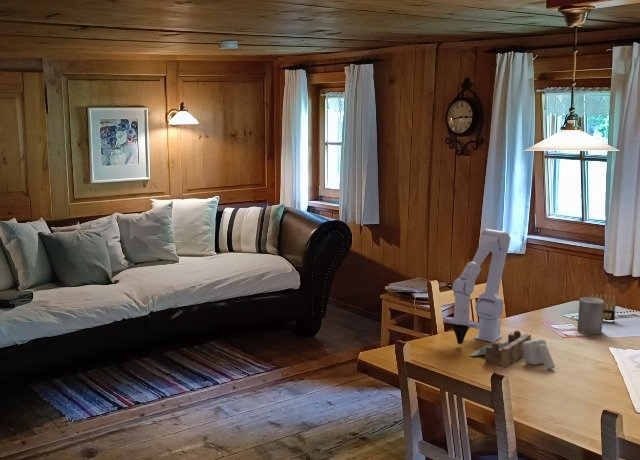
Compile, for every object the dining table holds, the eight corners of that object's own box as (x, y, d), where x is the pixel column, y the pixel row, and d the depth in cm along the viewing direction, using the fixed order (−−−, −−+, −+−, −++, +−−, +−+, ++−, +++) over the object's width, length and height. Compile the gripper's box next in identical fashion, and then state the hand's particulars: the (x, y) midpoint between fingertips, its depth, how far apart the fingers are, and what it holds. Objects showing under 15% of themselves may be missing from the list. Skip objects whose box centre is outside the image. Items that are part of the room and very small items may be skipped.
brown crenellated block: (510, 348, 292) (511, 328, 291) (530, 352, 288) (531, 332, 286) (485, 363, 275) (486, 342, 273) (506, 368, 270) (507, 346, 269)
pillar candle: (581, 326, 323) (583, 292, 320) (604, 330, 317) (607, 296, 315) (574, 332, 315) (576, 297, 313) (598, 336, 310) (600, 301, 307)
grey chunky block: (545, 371, 265) (542, 343, 266) (525, 369, 274) (522, 341, 275) (562, 368, 269) (559, 340, 269) (541, 366, 278) (539, 339, 279)
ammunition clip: (588, 320, 333) (590, 293, 331) (588, 318, 335) (590, 292, 333) (614, 322, 330) (616, 295, 328) (614, 321, 332) (616, 294, 330)
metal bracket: (516, 338, 286) (500, 348, 274) (519, 353, 286) (503, 364, 274) (482, 342, 295) (465, 351, 283) (485, 356, 295) (468, 366, 283)
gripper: (440, 308, 291) (438, 342, 294) (474, 314, 283) (472, 349, 285) (448, 304, 297) (446, 337, 299) (482, 311, 288) (480, 345, 291)
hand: (460, 343), depth 293 cm, fingers closed
